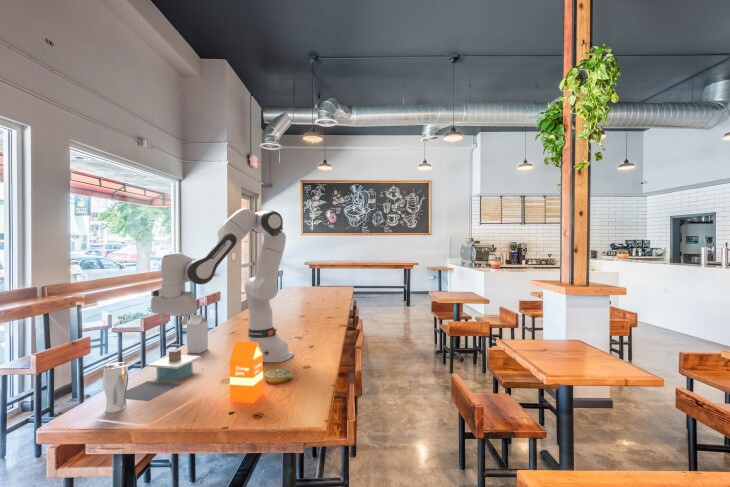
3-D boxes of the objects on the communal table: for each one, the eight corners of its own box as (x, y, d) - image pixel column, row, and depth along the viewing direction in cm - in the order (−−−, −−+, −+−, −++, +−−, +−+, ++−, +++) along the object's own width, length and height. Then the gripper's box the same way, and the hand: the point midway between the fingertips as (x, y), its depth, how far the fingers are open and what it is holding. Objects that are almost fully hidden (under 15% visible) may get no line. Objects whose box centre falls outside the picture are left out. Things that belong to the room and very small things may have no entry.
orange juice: (253, 403, 126) (252, 345, 126) (229, 401, 128) (229, 344, 128) (263, 394, 134) (262, 339, 134) (241, 392, 135) (240, 338, 136)
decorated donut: (297, 379, 148) (297, 370, 148) (274, 387, 140) (274, 377, 140) (282, 373, 155) (282, 364, 155) (260, 381, 147) (260, 371, 147)
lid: (200, 358, 159) (200, 347, 159) (176, 368, 145) (176, 356, 145) (173, 356, 162) (173, 345, 162) (147, 366, 148) (147, 354, 148)
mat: (181, 385, 143) (181, 383, 143) (148, 402, 128) (148, 401, 128) (147, 382, 147) (147, 380, 147) (111, 398, 132) (111, 397, 132)
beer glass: (111, 406, 126) (111, 362, 126) (132, 405, 126) (132, 361, 126) (98, 415, 119) (98, 369, 119) (121, 414, 119) (120, 368, 119)
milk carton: (199, 353, 186) (198, 316, 186) (187, 352, 188) (186, 315, 188) (208, 349, 193) (207, 313, 193) (196, 349, 195) (195, 313, 195)
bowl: (198, 372, 158) (198, 358, 158) (176, 383, 146) (176, 368, 146) (173, 370, 161) (173, 356, 161) (149, 380, 149) (149, 366, 149)
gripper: (200, 290, 154) (201, 323, 154) (159, 290, 159) (160, 321, 159) (189, 292, 148) (190, 326, 148) (147, 292, 153) (148, 325, 153)
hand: (174, 324), depth 154 cm, fingers open, 8 cm apart
